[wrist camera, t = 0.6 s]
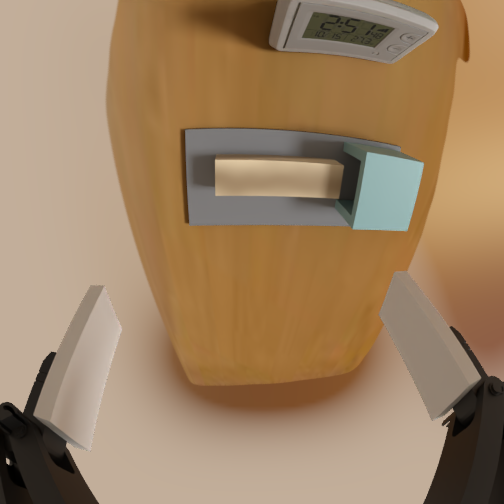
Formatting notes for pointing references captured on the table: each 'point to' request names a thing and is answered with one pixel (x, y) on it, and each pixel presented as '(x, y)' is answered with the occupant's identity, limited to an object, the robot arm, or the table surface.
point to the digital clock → (350, 28)
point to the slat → (277, 176)
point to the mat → (265, 207)
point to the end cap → (382, 189)
